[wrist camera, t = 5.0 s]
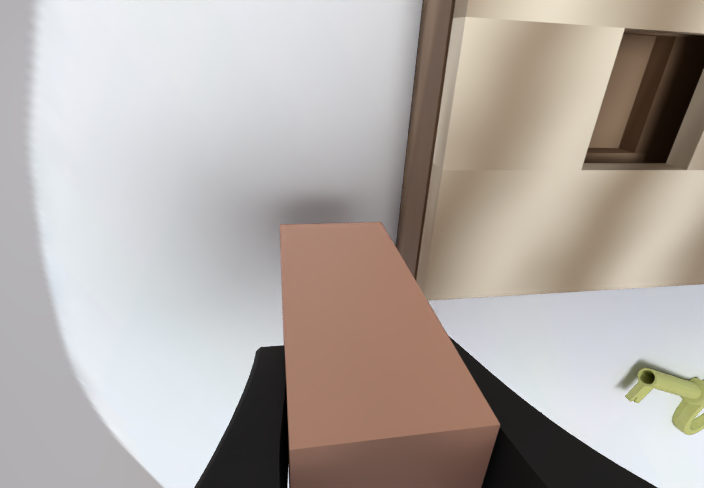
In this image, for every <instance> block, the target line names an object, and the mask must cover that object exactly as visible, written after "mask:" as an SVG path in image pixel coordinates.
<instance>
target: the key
mask: <svg viewBox="0 0 704 488" xmlns="http://www.w3.org/2000/svg"><path fill="white" fill-rule="evenodd" d="M637 377H638V380H639V382H638V383H637V384H636V385H635V386H634V387H633V388H632V389H631V390H630V392H629V393H628V394H627V395H626V396H625V397H626V398H627V399H628V400H629V401H634V402H636V403H639V402H640V401H641V400H642V399H643V398H644V397H645V396H646V395H647V394H648V393H649V392H650V391H651V390H652V389H653V388H655V389H658V390H662V391H665V392H669V393H672V394H676V395H679V396H680V397H681V398H682V399H683V400H682V401H681V403H680V404H679V406H678V407H677V408H676V410H675V413H674V415H673V419H672V420H673V423H674V425H675V426H676V427H677V428H678V429H679V430H680V431H682V432H683V433H685V434H687V435H692V434H695V433H697V432H699V431H701V430H702V429H704V414H702V415H701V416H699V417H697V418H695V417H696V416H697V414H698V413H699V412H700V411H701V410H702V409H703V408H704V380H700V379H698V378H691V379H690V380H689V381H687V380H684V379H681V378H678V377H675V376H672V375H668V374H665V373H662V372H659V371H656V370H653V369H649V368H643V369H641V370H639V372H638V375H637ZM694 418H695V419H694Z"/></svg>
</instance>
